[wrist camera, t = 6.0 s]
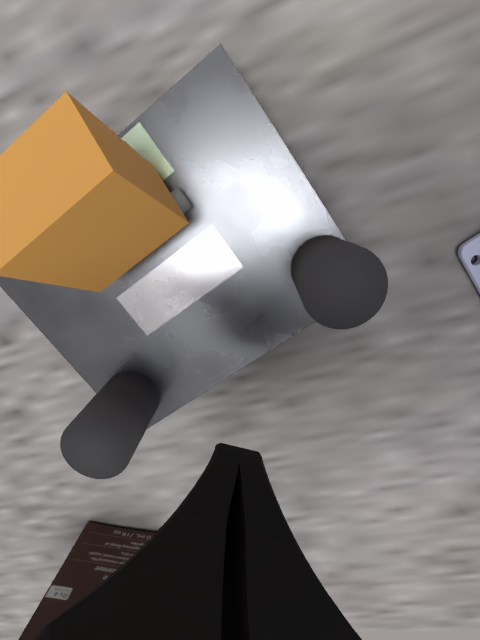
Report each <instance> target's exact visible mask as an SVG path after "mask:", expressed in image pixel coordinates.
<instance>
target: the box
mask: <svg viewBox="0 0 480 640" xmlns="http://www.w3.org/2000/svg"><path fill="white" fill-rule="evenodd" d="M154 534H155V533H153V532H145V531H138V530H132V529H126V528H118V527H113V526H107V525H102V524H97V523H93V522H88V523H87V524H86V526H85V528H84V529H83V531H82V533H81V534H80V536H79V538H78V540H77V541H76V543H75V545H74V546H73V548H72V550H71V551H70V553H69V555H68V556H67V558H66V560H65V562H64V564H63V565H62V567H61V568H60V570H59V572H58V574H57V575H56V577H55V579H54V580H53V582H52V584H51V586H50V587H49V589H48V590H47V592H46V594H45V595H44V597H43V599H42V601H41V602H40V604H39V606H38V607H37V609H36V611H35V613H34V614H33V616H32V618H31V619H30V621H29V623H28V624H27V626H26V628H25V629H24V631H23V633H22V635H21V636H20V638H19V640H34V639H35V637H36V636H37V635H38V634H39V632H40V631H41V630H42V629H43V627H44V626H45V625H46V624H47V623H48V622H49V621H50V620H52V619H53V618H54V617H56V616H57V615H58V614H60V613H61V612H63V611H64V610H65V609H67V608H68V607H70V606H71V605H72V604H74V603H75V602H76V601H78V600H79V599H81V598H82V597H83V596H85V595H86V594H87V593H89V592H90V591H91V590H93V589H94V588H95V587H96V586H98V585H99V584H100V583H101V582H102V581H104V580H105V579H106V578H107V577H108V576H110V575H111V574H112V573H113V572H114V571H116V570H117V569H118V568H119V567H120V566H121V565H123V564H124V563H125V562H126V561H127V560H128V559H130V558H131V557H132V556H133V555H134V554H135V553H136V552H137V551H138V550H139V549H140V548H141V547H142V546H143V545H144V544H145V543H146V542H147V541H148V540H149V539H150V538H151V537H152V536H153V535H154Z"/></svg>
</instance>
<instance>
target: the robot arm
mask: <svg viewBox="0 0 480 640" xmlns="http://www.w3.org/2000/svg"><path fill="white" fill-rule="evenodd" d="M474 255H476V256H477V261H476V262H475V263H474V264H471V258H472V257H473V256H474ZM458 256H459V258H460V260H461V262H462V264H463V265H464V267H465V269H466V271H467V273H468V274H469V276H470V278H471V280H472V281H473V283H474V285H475V287H476V289H477V290H478V292H479V294H480V233H479V234H477V235H475V236H474V237H472V238H471V239H469V240H467V241H466V242H464V243H463V244H462V245H461V246H460V247H459V249H458ZM34 640H362V639H361V638H360V637H359V635H358V634H357V633H356V632H355V630H354V629H353V628H352V627H351V625H350V624H349V623H348V621H347V620H346V618H345V617H344V616H343V614H342V613H341V611H340V610H339V609H338V607H337V606H336V604H335V603H334V602H333V600H332V599H331V597H330V596H329V595H328V593H327V592H326V590H325V589H324V587H323V586H322V584H321V583H320V581H319V579H318V578H317V576H316V575H315V573H314V572H313V570H312V568H311V566H310V565H309V563H308V561H307V560H306V558H305V556H304V555H303V553H302V551H301V549H300V547H299V545H298V544H297V542H296V540H295V538H294V536H293V534H292V532H291V530H290V528H289V526H288V524H287V522H286V520H285V517H284V515H283V513H282V511H281V508H280V506H279V504H278V501H277V499H276V497H275V494H274V492H273V489H272V487H271V484H270V481H269V479H268V476H267V473H266V470H265V467H264V464H263V460H262V457H261V455H260V453H259V452H257V451H252V450H248V449H244V448H240V447H236V446H231V445H227V444H223V443H219V444H217V445H216V446H215V450H214V453H213V455H212V457H211V460H210V461H209V463H208V465H207V467H206V469H205V470H204V472H203V474H202V475H201V477H200V478H199V480H198V481H197V483H196V484H195V486H194V487H193V489H192V490H191V491H190V493H189V494H188V495H187V497H186V498H185V499H184V501H183V502H182V503H181V505H180V506H179V507H178V508H177V510H176V511H175V512H174V513H173V514H172V516H171V517H170V518H169V519H168V520H167V521H166V522H165V524H164V525H163V526H162V527H161V528H160V529H159V530H158V531H157V532H156V533H155V534H154V535H153V536H152V537H151V538H150V539H149V540H148V541H147V542H146V543H145V544H144V545H143V546H142V547H141V548H140V549H139V550H138V551H137V552H136V553H135V554H134V555H133V556H132V557H131V558H130V559H128V560H127V561H126V562H125V563H124V564H123V565H121V566H120V567H119V568H118V569H117V570H116V571H114V572H113V573H112V574H111V575H110V576H108V577H107V578H106V579H105V580H104V581H102V582H101V583H100V584H99V585H98V586H96V587H95V588H94V589H93V590H91V591H90V592H89V593H87V594H86V595H85V596H83V597H82V598H81V599H79V600H78V601H76V602H75V603H74V604H72V605H71V606H70V607H68V608H67V609H65V610H64V611H63V612H61V613H60V614H58V615H57V616H56V617H54V618H53V619H52V620H50V621H49V622H48V623H47V624H46V625H45V626H44V627H43V629H42V630H41V631H40V632H39V634H38V635H37V636H36V637H35V639H34Z"/></svg>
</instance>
